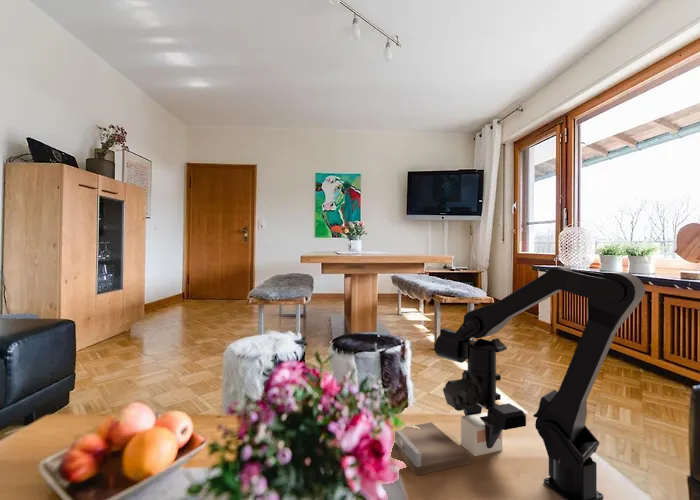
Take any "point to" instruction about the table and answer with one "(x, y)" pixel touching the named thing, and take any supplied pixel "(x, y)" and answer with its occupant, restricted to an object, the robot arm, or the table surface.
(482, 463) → the table surface
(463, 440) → the carton
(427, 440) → the shelf board
